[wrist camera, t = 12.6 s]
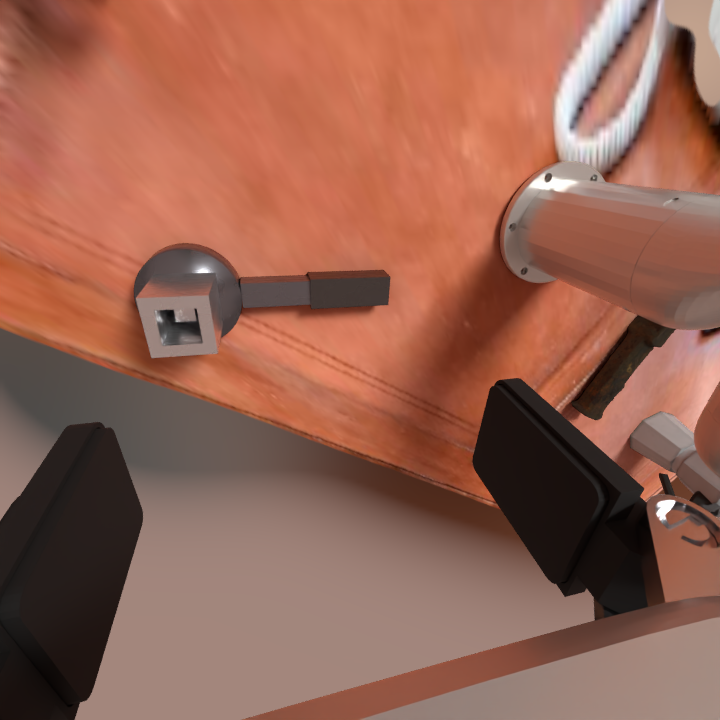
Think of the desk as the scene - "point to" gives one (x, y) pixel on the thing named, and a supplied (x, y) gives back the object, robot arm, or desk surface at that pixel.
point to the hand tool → (621, 366)
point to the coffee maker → (677, 458)
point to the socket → (181, 294)
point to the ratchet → (264, 284)
